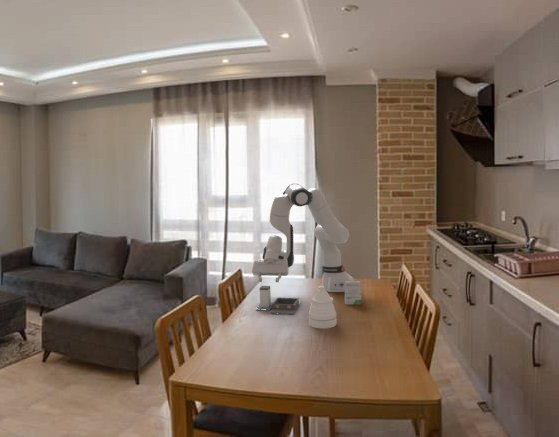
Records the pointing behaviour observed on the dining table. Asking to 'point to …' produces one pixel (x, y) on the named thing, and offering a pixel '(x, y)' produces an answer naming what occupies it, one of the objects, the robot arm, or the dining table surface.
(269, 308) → the mat
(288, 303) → the equipment case
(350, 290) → the ink box
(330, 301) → the honey pot
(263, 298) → the block
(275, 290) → the dining table surface
